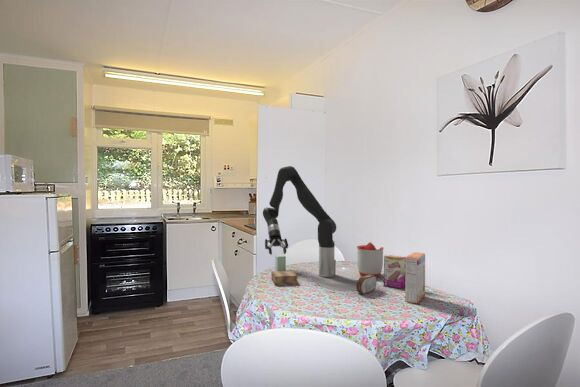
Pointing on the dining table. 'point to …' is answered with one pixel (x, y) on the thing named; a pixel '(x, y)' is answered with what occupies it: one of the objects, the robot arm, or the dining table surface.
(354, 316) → the dining table surface
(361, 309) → the dining table surface
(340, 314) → the dining table surface
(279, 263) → the green pillar
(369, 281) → the tin
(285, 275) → the wooden block
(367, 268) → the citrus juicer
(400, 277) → the candy bar box
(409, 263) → the cracker box
